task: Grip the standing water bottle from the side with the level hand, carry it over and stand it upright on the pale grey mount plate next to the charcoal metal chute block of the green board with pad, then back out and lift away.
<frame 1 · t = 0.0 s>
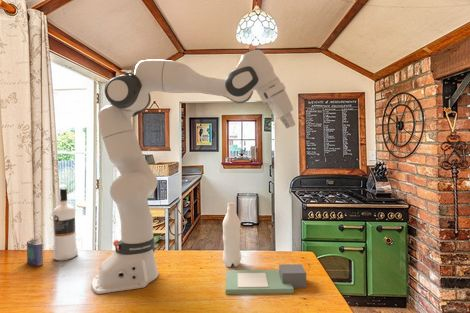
hand: (290, 126, 102), 54 cm above the table, tool tilted 30°, fingers open, 8 cm apart
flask: (34, 264, 119), on the table
vodka: (65, 257, 126), on the table
water bottle: (232, 265, 116), on the table
green board with pad: (257, 283, 100), on the table
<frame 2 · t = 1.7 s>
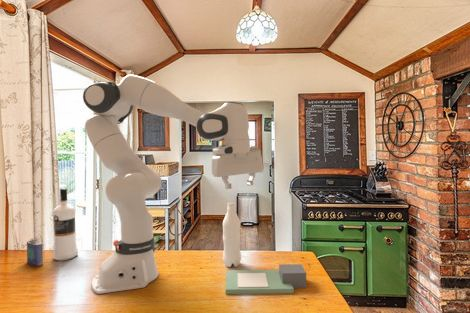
hand: (239, 187, 103), 33 cm above the table, tool pointing down, fingers open, 8 cm apart
nothing on the table moved.
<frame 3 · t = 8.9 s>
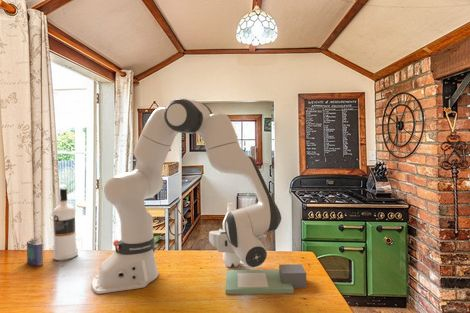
hand: (231, 229, 116), 14 cm above the table, tool horizontal, fingers closed on water bottle, 7 cm apart
water bottle: (232, 265, 116), on the table, touching gripper
everything else where it was.
when the fingers open (17 cm above the table, at t = 13.3 s): water bottle stays where it is, resting on green board with pad.
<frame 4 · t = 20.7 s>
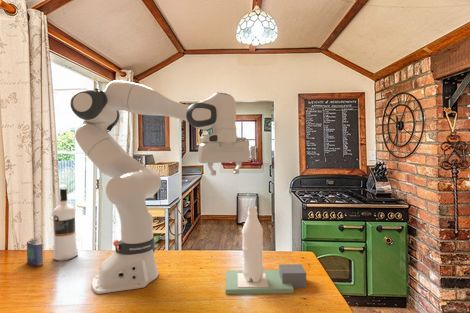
hand: (224, 174, 108), 37 cm above the table, tool pointing down, fingers open, 8 cm apart
water bottle: (252, 279, 100), point 2 cm above the table, touching green board with pad
everything else where it was.
at the end: water bottle inside the target area on the green board with pad (0.4 cm from its centre), point 1.6 cm above the green board with pad's base; water bottle tilted 0°; the gripper is holding nothing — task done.
